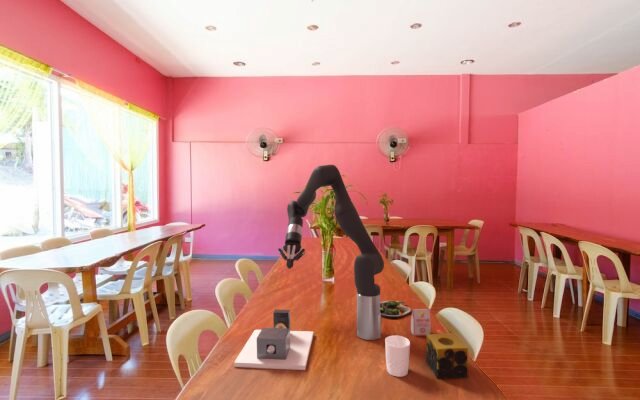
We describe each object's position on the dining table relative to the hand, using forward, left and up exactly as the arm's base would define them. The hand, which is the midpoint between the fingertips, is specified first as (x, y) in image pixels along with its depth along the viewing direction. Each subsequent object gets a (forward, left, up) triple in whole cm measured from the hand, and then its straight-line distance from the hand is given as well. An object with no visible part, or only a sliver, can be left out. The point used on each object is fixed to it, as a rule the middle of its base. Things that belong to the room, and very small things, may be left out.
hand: (289, 267), depth 144 cm
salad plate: (-45, -13, -24) cm, 53 cm away
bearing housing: (0, +31, -22) cm, 38 cm away
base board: (0, +26, -23) cm, 35 cm away
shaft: (0, +26, -21) cm, 34 cm away
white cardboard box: (-55, +9, -24) cm, 61 cm away
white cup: (-42, +36, -24) cm, 60 cm away
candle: (-58, +34, -24) cm, 71 cm away
